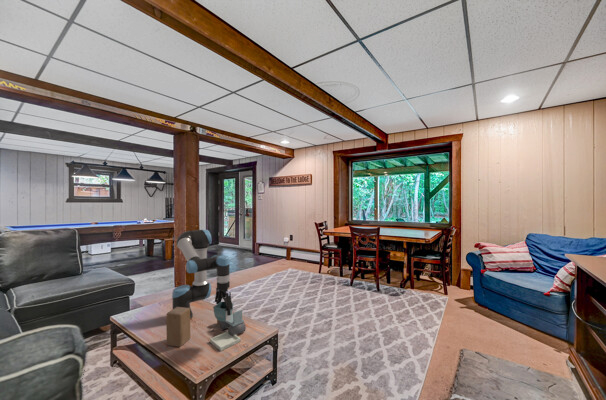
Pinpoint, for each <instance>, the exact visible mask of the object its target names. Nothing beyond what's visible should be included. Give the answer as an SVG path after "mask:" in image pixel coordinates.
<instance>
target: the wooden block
mask: <svg viewBox="0 0 606 400" xmlns="http://www.w3.org/2000/svg"><path fill="white" fill-rule="evenodd" d="M190 308H191V307H190ZM190 308H185V307H176V308H174V309H173V308H172V309H171V310H169V311H168V312H167V313H166V319H165V320H166V322H165V323H166V345H167V346H170V347H176V348H177V347H178V348H179V347H182V346H183V345H184V344H185V343H187V342H188V341H189V340H190V339H191V319H190Z"/></svg>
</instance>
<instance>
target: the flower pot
mask: <svg viewBox="0 0 606 400" xmlns="http://www.w3.org/2000/svg"><path fill="white" fill-rule="evenodd" d="M232 307H233V308H234V303H233V302H232ZM212 308H213V309H212V310H213V314H214V317H215V318H216V321H217V320H219V321H226V306H225V302H224V300H223V301H222V300H221V302H220V303H219V304H216V305H214V306H213V307H212ZM233 311H234V310H233V309H231V310H230V316H231V314H232V313H233Z"/></svg>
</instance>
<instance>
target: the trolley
mask: <svg viewBox="0 0 606 400" xmlns="http://www.w3.org/2000/svg"><path fill="white" fill-rule="evenodd" d="M218 327H219V328H220V330H221V331H224V330H227V331H228V333H229V334H230V335H231V336H232V337H233V336H234V335H237V336H238V335H240V334H242V333H244V332H246V329H247V328H246V324H245V320H244V319H243V309H238V310H236V311H232V314H231V316H230V320H228V321H219V325H218Z"/></svg>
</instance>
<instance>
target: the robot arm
mask: <svg viewBox="0 0 606 400" xmlns="http://www.w3.org/2000/svg"><path fill="white" fill-rule="evenodd" d="M211 244H212V234H211V232H210V230H208V229H196V230H186V231H184V232H182V233H181V234H179V236H178V237H177V239H176V247H177V248H178V249H179V250H180V251H181V253H182V254H183V256H184V258H185V260H186V263H185V269H186V273H188V274H194V281H192V285H189V284H182V285H179V286H177V287H175V288H174V289H173V290H172V295H171V297H172V310H173V309H174V308H176V307H185V308H190V320H192V318H193V317H194V315H193V310H192V308H191V303H195V302H199V301H204V300H207V299H209V298H210V297H211V294H212V285H211V282H209V280H208V278H207V273H208V272H207V271H210V270H216V278H215V279H216V288H215V291H216V292H215V295H214V296H215V298H214V303H215V304H216V305H217V304H219V303H220V302H222V300H223V302H225V306H226V321H228V320H230V310H231V309H233V308H234V306H233V307H232V303H233V301H232V294H231V292H230V291H229V288H230V285H231V284H230V279H231V278H230V274H231V273H230V256H228V255H213V256H211V257H208V254H207V253H208V252H207V250H208V249H209V246H210V245H211Z"/></svg>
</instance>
